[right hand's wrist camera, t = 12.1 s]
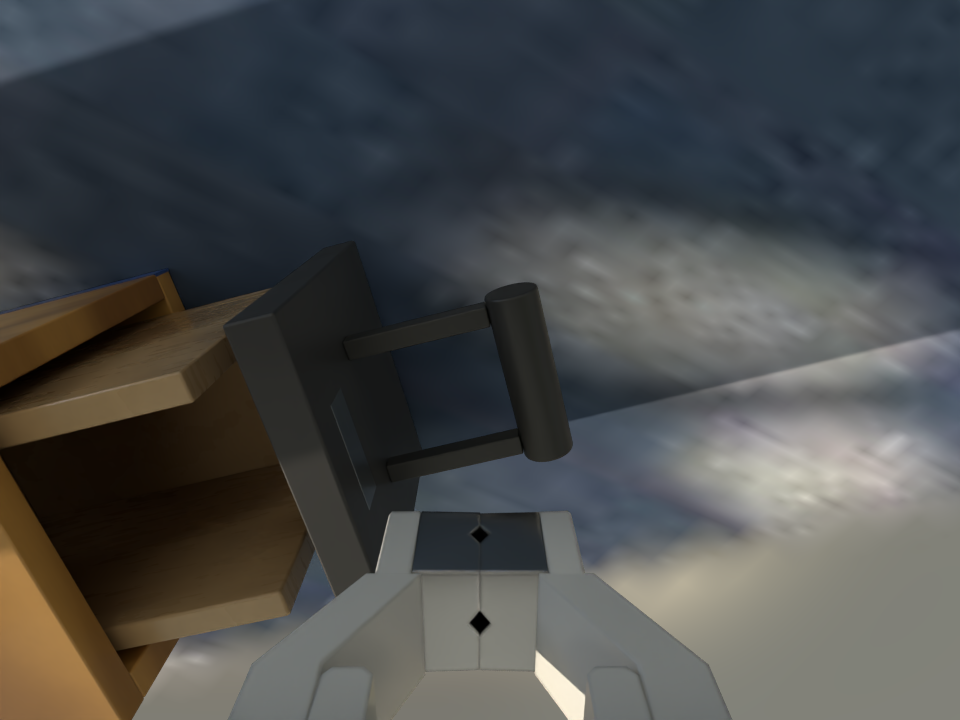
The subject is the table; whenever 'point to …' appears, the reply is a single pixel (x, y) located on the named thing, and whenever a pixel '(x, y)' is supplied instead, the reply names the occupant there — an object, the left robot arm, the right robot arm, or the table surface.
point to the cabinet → (31, 555)
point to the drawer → (250, 445)
